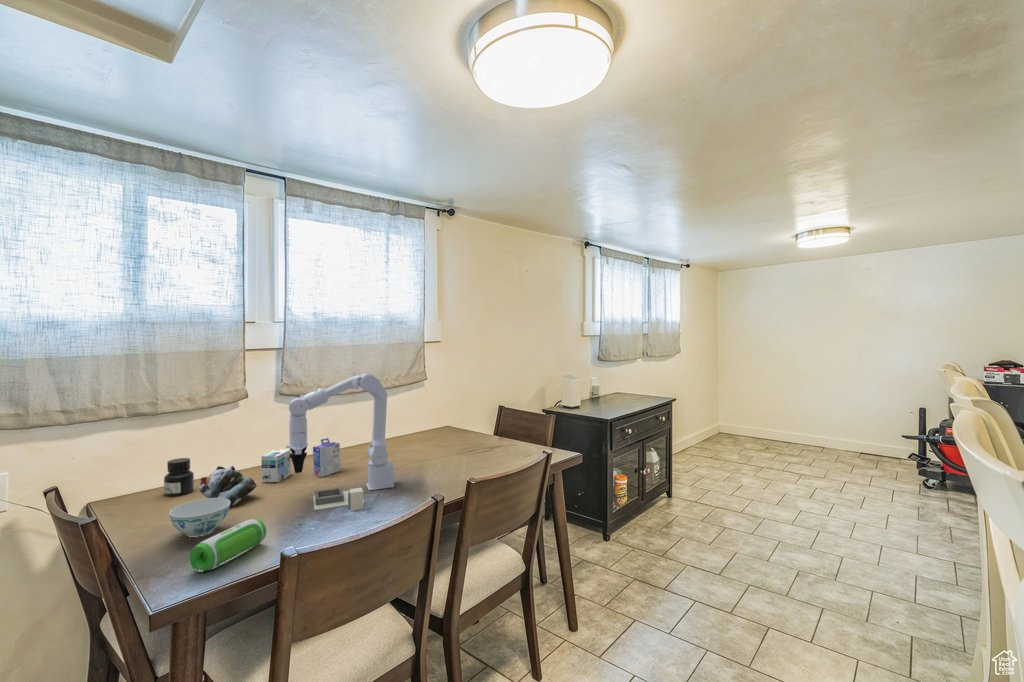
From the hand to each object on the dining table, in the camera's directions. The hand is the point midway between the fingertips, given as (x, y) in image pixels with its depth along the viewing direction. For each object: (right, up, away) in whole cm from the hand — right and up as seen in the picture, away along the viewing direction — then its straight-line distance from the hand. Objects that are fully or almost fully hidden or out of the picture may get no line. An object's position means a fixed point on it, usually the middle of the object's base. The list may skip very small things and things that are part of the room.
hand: (298, 469), depth 164 cm
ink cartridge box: (-1, -10, +28) cm, 30 cm away
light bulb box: (-19, -10, +21) cm, 30 cm away
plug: (+24, -10, -9) cm, 28 cm away
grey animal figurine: (-22, -10, -5) cm, 25 cm away
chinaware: (-15, -11, -29) cm, 34 cm away
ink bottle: (-47, -10, +5) cm, 48 cm away
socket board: (+15, -10, -2) cm, 19 cm away
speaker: (+3, -11, -44) cm, 45 cm away
